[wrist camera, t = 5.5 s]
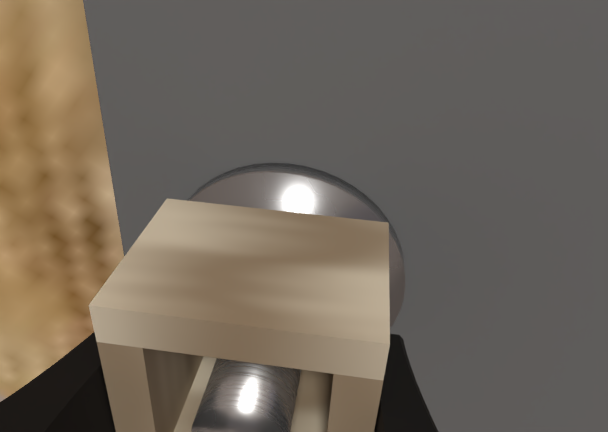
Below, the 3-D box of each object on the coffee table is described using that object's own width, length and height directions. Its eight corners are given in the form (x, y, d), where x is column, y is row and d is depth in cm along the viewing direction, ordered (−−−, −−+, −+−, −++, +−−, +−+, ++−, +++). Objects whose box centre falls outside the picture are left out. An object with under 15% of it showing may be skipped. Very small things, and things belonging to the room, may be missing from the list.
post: (423, 176, 14) (445, 336, 9) (387, 368, 17) (389, 556, 12) (159, 150, 14) (40, 285, 9) (179, 340, 18) (101, 509, 13)
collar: (388, 222, 12) (389, 344, 9) (364, 381, 15) (357, 519, 12) (167, 198, 13) (88, 305, 9) (182, 356, 16) (126, 482, 12)
